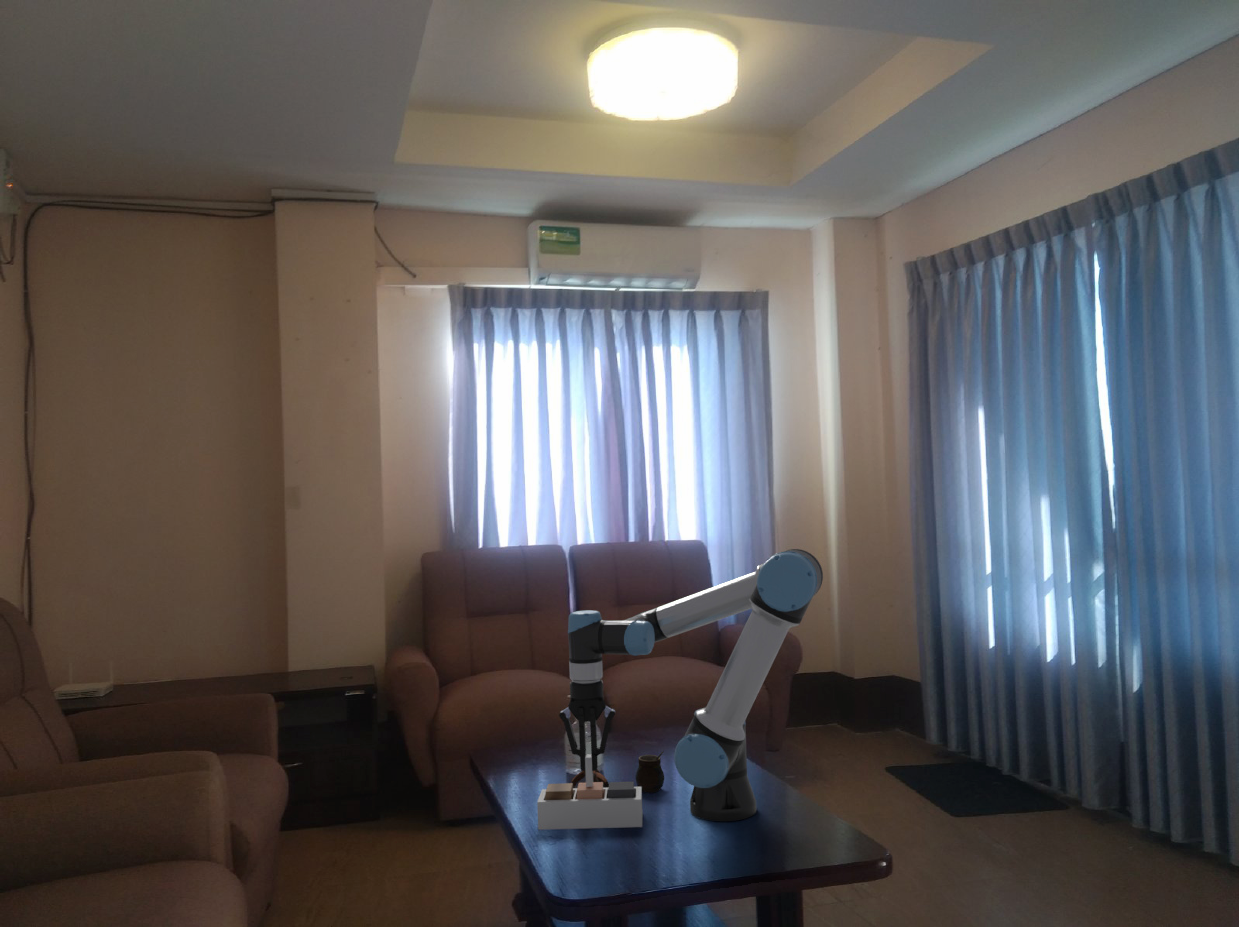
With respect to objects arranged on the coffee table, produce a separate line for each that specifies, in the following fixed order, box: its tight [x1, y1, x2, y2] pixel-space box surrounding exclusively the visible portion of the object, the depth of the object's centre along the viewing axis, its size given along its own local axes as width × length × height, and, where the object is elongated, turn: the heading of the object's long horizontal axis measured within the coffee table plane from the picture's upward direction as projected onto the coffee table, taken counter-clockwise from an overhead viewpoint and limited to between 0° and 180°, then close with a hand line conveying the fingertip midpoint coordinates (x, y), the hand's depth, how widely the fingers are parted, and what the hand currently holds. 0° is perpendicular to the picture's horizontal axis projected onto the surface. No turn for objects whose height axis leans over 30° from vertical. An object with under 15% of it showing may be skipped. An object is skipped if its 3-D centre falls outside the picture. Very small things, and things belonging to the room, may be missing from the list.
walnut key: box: [545, 782, 573, 800], centre depth 206 cm, size 6×6×5 cm
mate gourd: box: [635, 750, 665, 794], centre depth 226 cm, size 7×8×10 cm
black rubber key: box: [608, 781, 635, 798], centre depth 206 cm, size 6×6×5 cm
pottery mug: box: [570, 769, 609, 788], centre depth 222 cm, size 12×10×8 cm
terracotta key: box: [577, 782, 604, 799], centre depth 206 cm, size 6×6×5 cm
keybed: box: [536, 786, 644, 831], centre depth 206 cm, size 23×9×6 cm, turn 88°
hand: (589, 784), depth 206 cm, fingers closed
